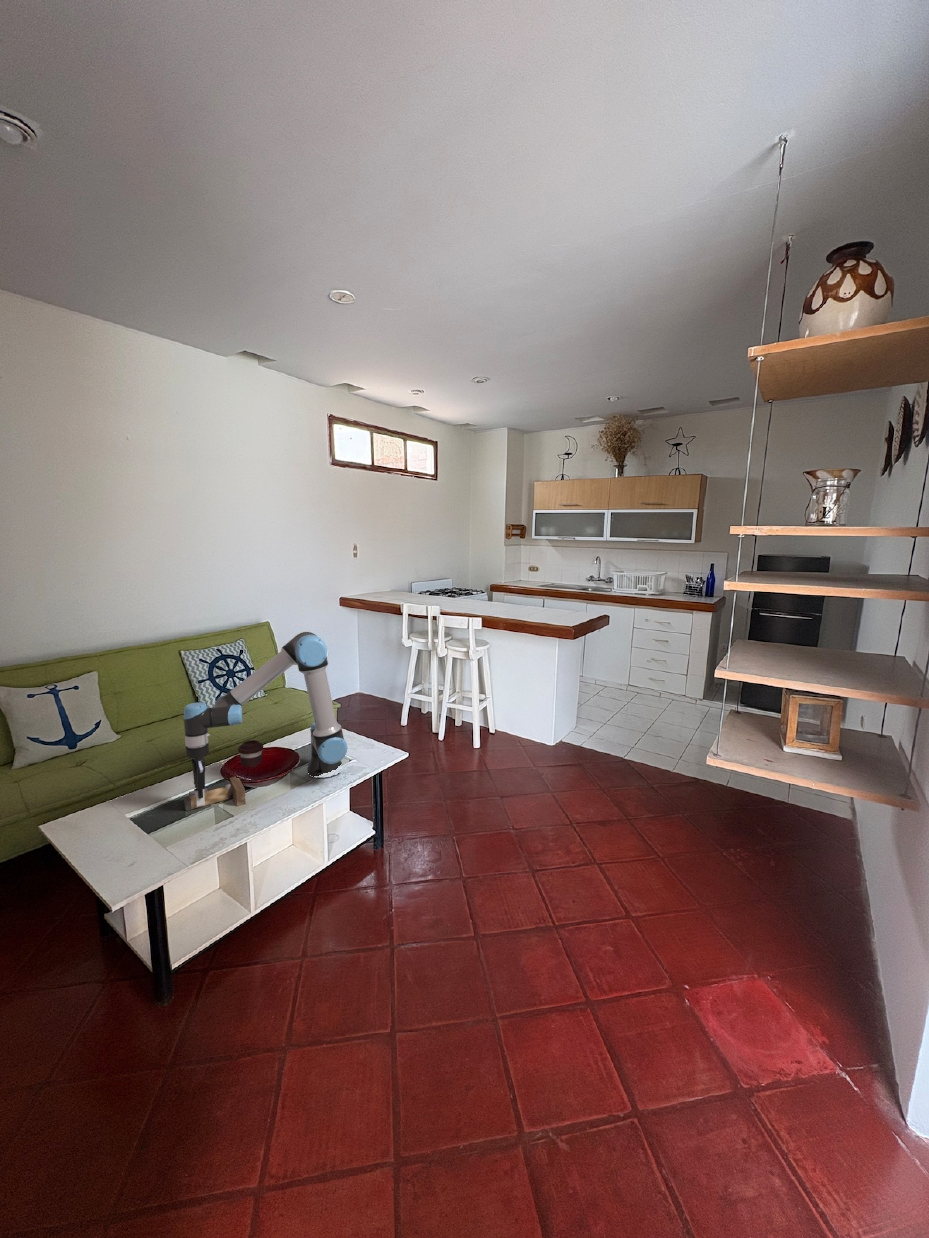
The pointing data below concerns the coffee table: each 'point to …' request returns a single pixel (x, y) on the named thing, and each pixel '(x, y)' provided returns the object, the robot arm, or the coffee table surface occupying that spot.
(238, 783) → the curved wooden block
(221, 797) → the folding leg
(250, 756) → the coffee cup
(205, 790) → the leg rest
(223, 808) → the coffee table surface
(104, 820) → the coffee table surface
